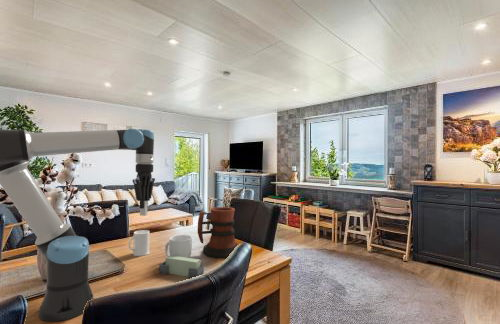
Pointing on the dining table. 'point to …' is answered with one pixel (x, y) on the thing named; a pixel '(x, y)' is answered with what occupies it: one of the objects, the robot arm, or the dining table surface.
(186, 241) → the mug
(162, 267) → the cap far
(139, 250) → the mug
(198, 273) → the cap near
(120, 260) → the dining table surface
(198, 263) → the pale green long block
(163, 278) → the dining table surface
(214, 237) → the tankard
